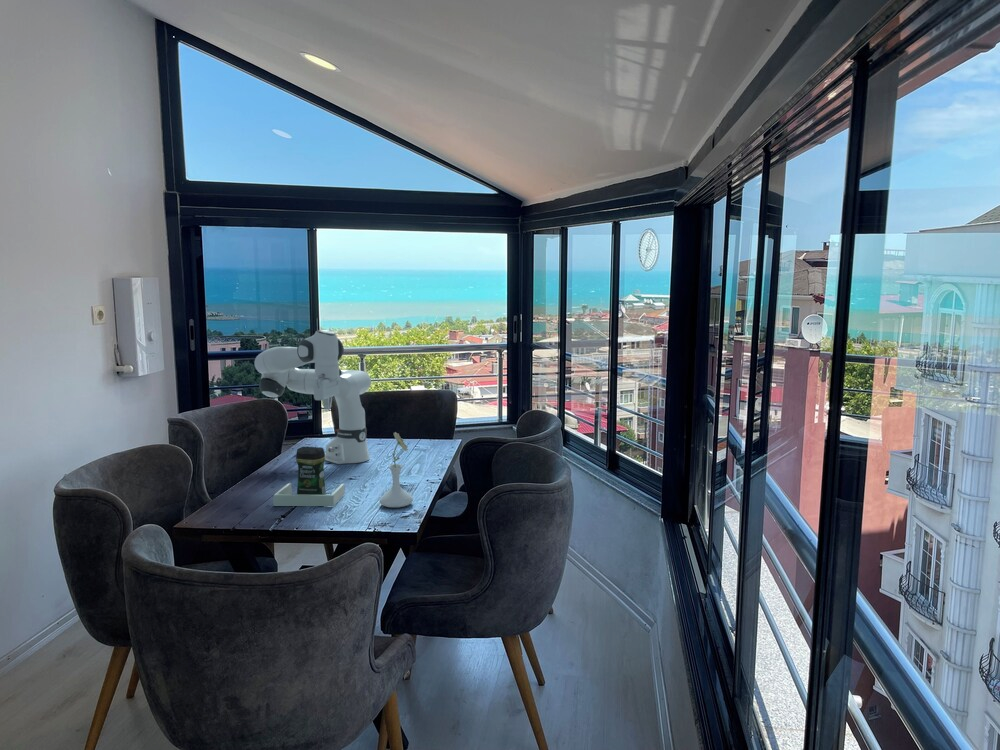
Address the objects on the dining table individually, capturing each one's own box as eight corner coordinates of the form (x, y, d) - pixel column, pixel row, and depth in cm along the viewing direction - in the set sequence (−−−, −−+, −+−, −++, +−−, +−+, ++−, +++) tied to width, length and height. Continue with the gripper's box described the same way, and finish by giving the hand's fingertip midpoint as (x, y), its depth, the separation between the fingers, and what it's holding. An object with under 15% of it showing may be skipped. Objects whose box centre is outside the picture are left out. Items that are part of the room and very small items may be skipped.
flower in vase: (412, 510, 219) (411, 436, 216) (377, 511, 218) (376, 437, 215) (414, 498, 232) (413, 429, 229) (381, 499, 231) (380, 429, 228)
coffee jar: (293, 500, 229) (291, 449, 227) (304, 494, 237) (302, 444, 234) (319, 502, 227) (317, 450, 225) (329, 495, 235) (327, 445, 233)
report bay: (288, 493, 237) (288, 483, 237) (344, 494, 236) (344, 483, 236) (273, 506, 223) (273, 495, 222) (333, 507, 222) (332, 495, 221)
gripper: (326, 375, 238) (326, 413, 239) (343, 370, 258) (343, 404, 260) (309, 375, 238) (309, 413, 240) (327, 370, 258) (328, 404, 260)
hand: (327, 408), depth 250 cm, fingers closed
